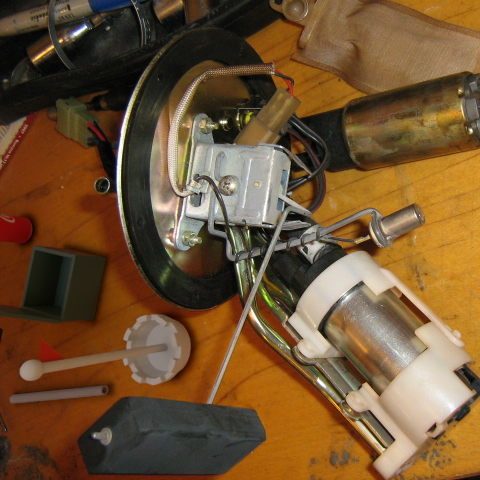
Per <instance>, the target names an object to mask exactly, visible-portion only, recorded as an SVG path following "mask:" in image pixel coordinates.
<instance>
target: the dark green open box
mask: <svg viewBox="0 0 480 480" xmlns="http://www.w3.org/2000/svg"><path fill="white" fill-rule="evenodd" d="M106 261H107V257H105V256H101V255H96V254H92V253H89V252H84V251H79V250H74V249H70V248H66V247H65V248H63V247H53V246H42V245H32V249H31V254H30V259H29V264H28V269H27V274H26V279H25V284H24V288H23V292H22V293H23V294H22V299H21V302H20V303H21V304H20V308H22V309H26V310H29V311H32V312H35V313H39V314H42V315H45V316H49V317H52V318H55V319H58V320H61V321H60V323H66V322H67V323H69V322H81V321H94V320H95V319H96V318H95V317H96V312H97V307H98V302H99V296H100V291H101V287H102V283H103V282H102V281H103V276H104V271H105V266H106Z"/></svg>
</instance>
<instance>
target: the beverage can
mask: <svg viewBox="0 0 480 480" xmlns="http://www.w3.org/2000/svg"><path fill="white" fill-rule="evenodd" d="M32 234H33V224H32V222H31V220H30V219H29V218H27V217H24V216H17V215H11V214H5V213H4V214H3V213H0V242H1V243H11V244H12V243H13V244H25V243H27V242H28V241H29V239H30V238H31V236H32Z"/></svg>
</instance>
